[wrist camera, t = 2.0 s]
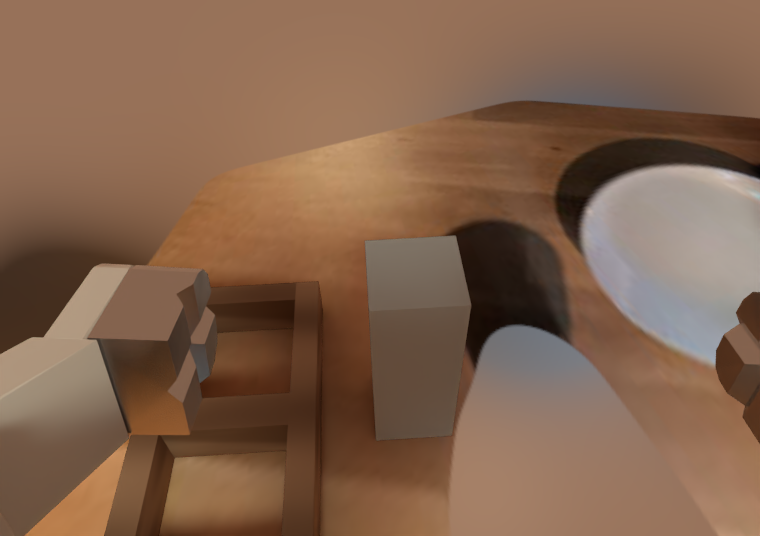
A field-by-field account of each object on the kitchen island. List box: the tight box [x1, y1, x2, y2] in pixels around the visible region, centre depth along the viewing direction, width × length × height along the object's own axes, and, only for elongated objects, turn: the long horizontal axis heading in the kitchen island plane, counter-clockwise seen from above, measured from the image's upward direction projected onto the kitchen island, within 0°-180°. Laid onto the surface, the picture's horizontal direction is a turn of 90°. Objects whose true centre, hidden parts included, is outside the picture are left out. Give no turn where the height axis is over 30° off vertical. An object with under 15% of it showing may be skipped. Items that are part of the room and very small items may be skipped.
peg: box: [365, 236, 471, 441], centre depth 31 cm, size 4×4×12 cm
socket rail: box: [104, 281, 323, 536], centre depth 33 cm, size 19×10×3 cm, turn 3°
